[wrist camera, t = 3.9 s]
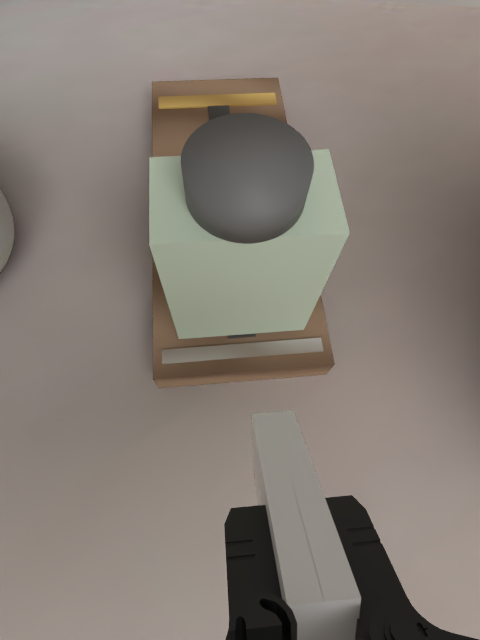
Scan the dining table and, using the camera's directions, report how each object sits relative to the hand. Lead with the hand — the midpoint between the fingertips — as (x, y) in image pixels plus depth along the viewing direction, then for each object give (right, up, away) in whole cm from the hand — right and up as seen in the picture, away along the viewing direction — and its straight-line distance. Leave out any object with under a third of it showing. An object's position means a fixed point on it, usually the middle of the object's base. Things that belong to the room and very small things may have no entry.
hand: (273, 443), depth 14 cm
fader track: (-2, +12, +14) cm, 18 cm away
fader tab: (-1, +6, +8) cm, 10 cm away
